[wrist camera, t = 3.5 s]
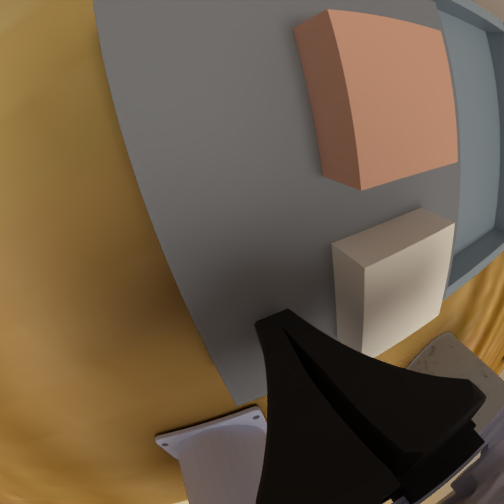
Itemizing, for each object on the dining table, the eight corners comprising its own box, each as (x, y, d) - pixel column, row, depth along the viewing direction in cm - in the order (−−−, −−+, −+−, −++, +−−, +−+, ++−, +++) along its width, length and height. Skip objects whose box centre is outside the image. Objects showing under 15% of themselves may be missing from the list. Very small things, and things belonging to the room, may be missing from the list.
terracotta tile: (420, 152, 10) (457, 162, 8) (323, 176, 9) (361, 191, 7) (402, 36, 7) (440, 31, 6) (292, 28, 7) (327, 9, 5)
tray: (493, 232, 20) (511, 242, 18) (414, 286, 18) (437, 304, 16) (483, 24, 11) (506, 24, 9) (384, -18, 8) (416, -28, 6)
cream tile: (413, 295, 13) (438, 315, 12) (337, 337, 12) (360, 365, 11) (421, 207, 11) (454, 222, 9) (331, 243, 10) (364, 268, 8)
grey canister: (439, 371, 29) (495, 428, 18) (385, 409, 27) (441, 480, 16) (461, 317, 24) (534, 380, 14) (403, 359, 22) (483, 446, 12)
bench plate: (415, 275, 17) (445, 296, 15) (222, 365, 15) (236, 406, 12) (394, 11, 9) (435, 2, 7) (107, 29, 7) (92, -1, 4)
